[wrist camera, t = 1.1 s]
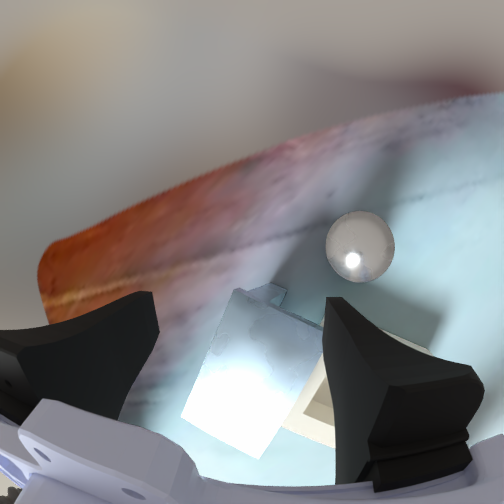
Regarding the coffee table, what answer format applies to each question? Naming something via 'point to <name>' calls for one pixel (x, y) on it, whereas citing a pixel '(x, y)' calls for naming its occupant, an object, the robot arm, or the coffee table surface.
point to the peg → (360, 246)
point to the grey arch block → (253, 369)
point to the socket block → (321, 403)
